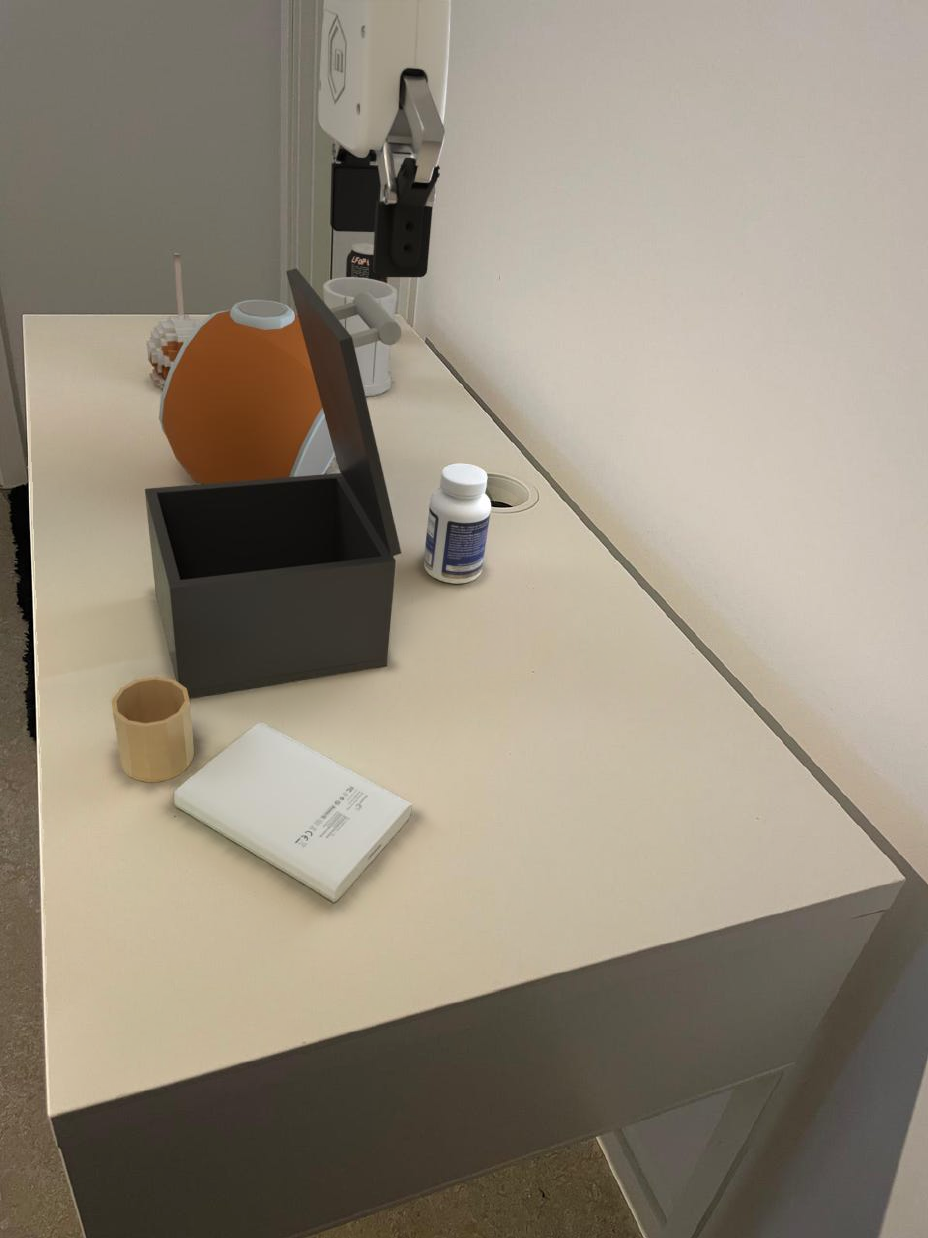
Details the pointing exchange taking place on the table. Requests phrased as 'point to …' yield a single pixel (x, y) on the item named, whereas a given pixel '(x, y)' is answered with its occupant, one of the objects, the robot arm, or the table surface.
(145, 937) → the table surface
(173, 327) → the decorative ornament
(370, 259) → the beverage can
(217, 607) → the open storage box
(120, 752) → the wooden cup
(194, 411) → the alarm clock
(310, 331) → the lid
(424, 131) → the robot arm
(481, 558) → the pill bottle
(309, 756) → the hard drive
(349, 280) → the cup
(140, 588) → the table surface
